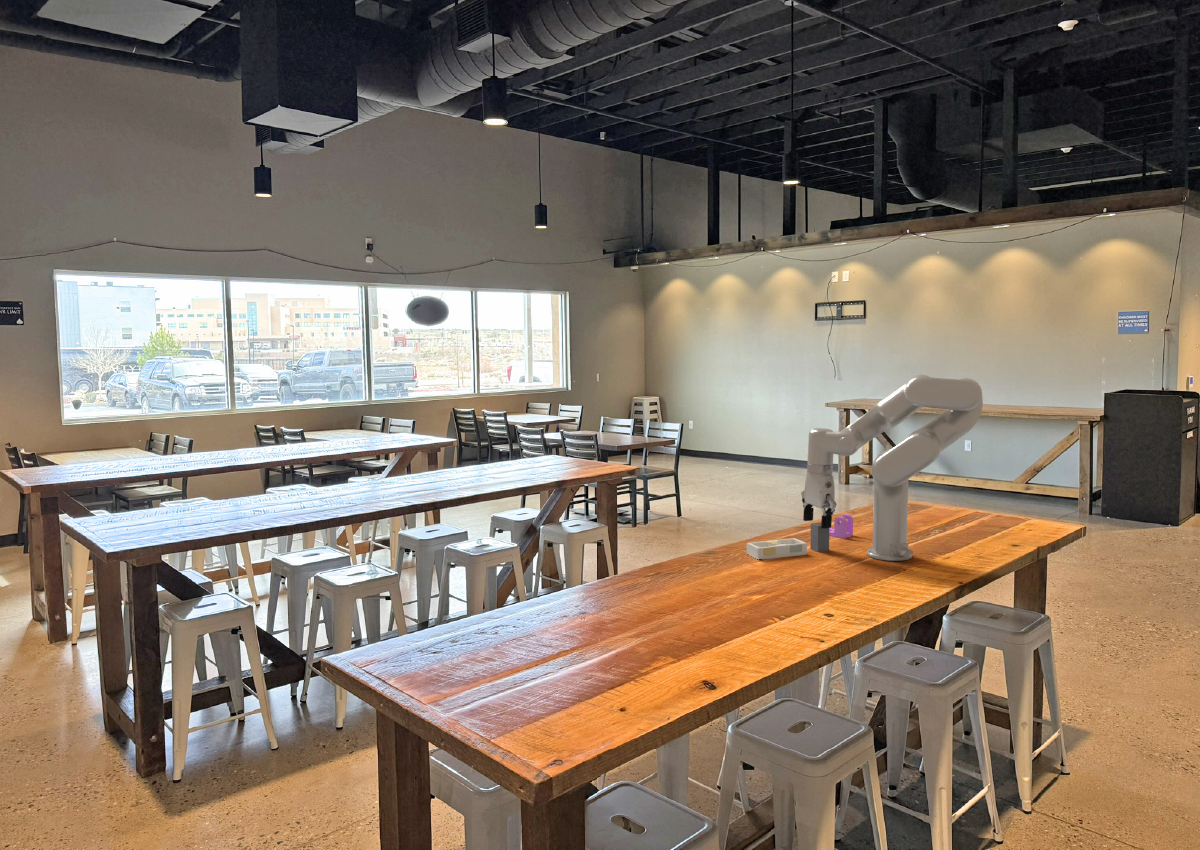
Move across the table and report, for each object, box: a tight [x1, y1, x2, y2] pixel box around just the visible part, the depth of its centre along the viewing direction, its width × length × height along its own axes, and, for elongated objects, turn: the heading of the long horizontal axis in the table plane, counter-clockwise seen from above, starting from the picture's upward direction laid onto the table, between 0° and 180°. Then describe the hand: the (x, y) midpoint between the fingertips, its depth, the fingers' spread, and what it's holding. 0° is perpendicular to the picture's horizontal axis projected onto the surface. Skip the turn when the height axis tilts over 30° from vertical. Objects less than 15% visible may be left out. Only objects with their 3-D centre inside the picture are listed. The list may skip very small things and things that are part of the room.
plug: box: [809, 522, 830, 553], centre depth 249 cm, size 4×4×8 cm
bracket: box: [829, 513, 854, 540], centre depth 270 cm, size 13×6×7 cm, turn 45°
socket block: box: [746, 537, 808, 561], centre depth 245 cm, size 7×17×4 cm, turn 108°
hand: (816, 524), depth 249 cm, fingers open, 9 cm apart
